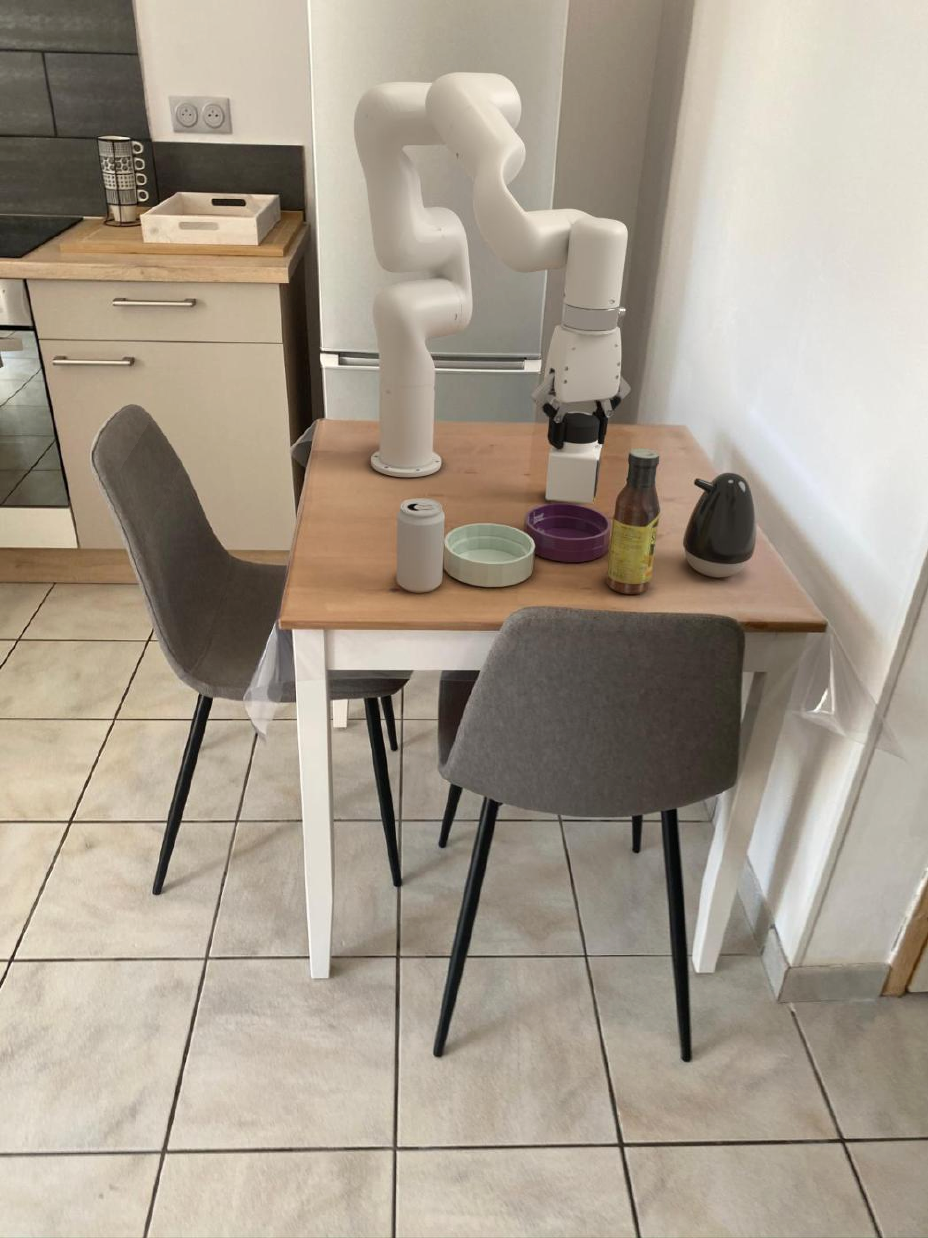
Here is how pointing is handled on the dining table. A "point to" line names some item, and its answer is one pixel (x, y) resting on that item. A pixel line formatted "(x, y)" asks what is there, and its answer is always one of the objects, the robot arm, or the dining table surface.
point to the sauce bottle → (635, 526)
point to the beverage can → (420, 544)
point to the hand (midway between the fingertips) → (576, 442)
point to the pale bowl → (488, 554)
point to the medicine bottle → (575, 461)
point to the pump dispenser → (721, 526)
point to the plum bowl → (568, 532)
